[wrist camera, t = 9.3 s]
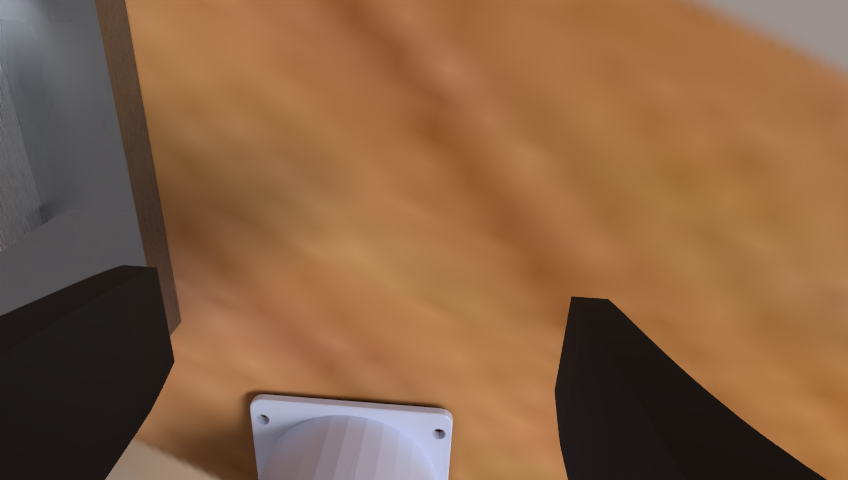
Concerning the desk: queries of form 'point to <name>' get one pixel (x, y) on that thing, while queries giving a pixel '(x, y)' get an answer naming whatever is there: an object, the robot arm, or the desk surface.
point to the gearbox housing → (74, 152)
